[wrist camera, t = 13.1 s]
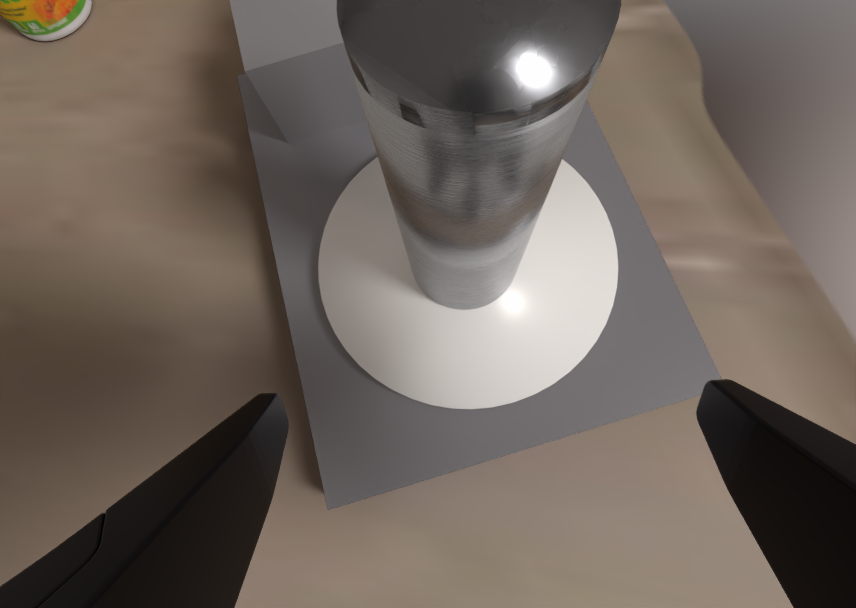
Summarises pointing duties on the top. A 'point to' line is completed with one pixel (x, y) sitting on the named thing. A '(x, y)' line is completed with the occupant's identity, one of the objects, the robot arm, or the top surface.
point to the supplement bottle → (46, 17)
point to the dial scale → (429, 321)
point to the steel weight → (472, 123)
